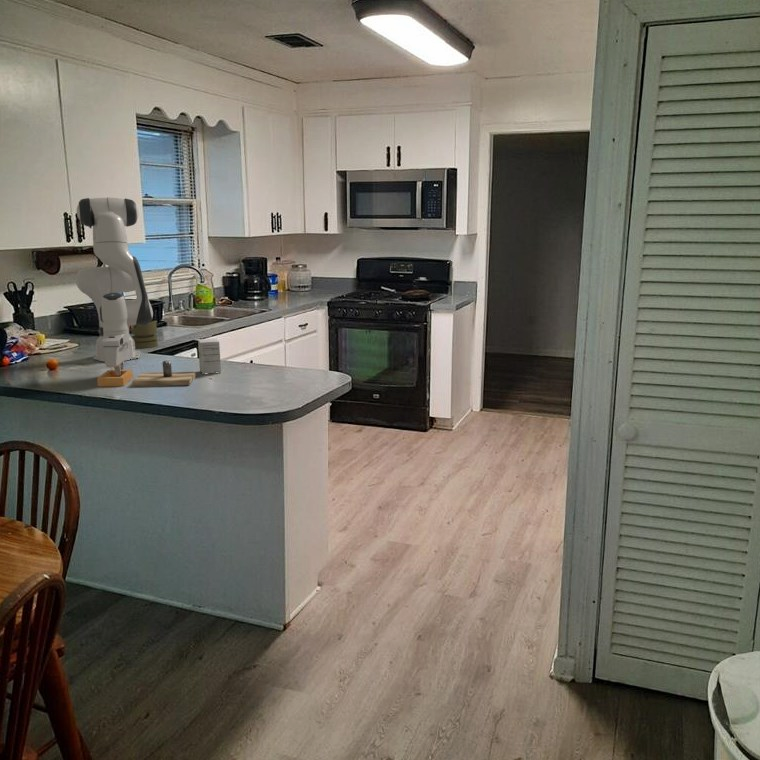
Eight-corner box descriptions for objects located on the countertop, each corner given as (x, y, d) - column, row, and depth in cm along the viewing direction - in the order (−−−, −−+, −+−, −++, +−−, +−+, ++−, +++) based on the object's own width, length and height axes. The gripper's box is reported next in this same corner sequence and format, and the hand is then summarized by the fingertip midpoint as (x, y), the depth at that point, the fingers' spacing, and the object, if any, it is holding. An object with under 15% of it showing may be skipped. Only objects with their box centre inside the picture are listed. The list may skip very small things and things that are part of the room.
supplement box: (199, 371, 279) (197, 339, 276) (218, 369, 281) (216, 338, 278) (201, 374, 272) (199, 342, 269) (221, 373, 274) (219, 341, 272)
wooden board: (142, 378, 267) (141, 372, 267) (196, 376, 269) (196, 371, 268) (132, 386, 253) (132, 381, 253) (189, 385, 255) (189, 380, 254)
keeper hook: (164, 375, 262) (163, 360, 261) (172, 375, 262) (171, 359, 261) (161, 378, 258) (160, 362, 256) (170, 378, 258) (169, 362, 256)
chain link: (108, 378, 267) (107, 370, 266) (133, 377, 267) (132, 369, 267) (97, 386, 254) (97, 378, 253) (123, 385, 255) (122, 377, 254)
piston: (138, 323, 321) (125, 321, 328) (141, 349, 324) (127, 346, 331) (160, 320, 329) (147, 318, 336) (162, 346, 332) (149, 343, 339)
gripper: (115, 333, 273) (119, 368, 276) (99, 342, 253) (103, 380, 256) (132, 332, 273) (135, 368, 276) (117, 342, 253) (121, 380, 256)
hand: (119, 374), depth 266 cm, fingers closed on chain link
